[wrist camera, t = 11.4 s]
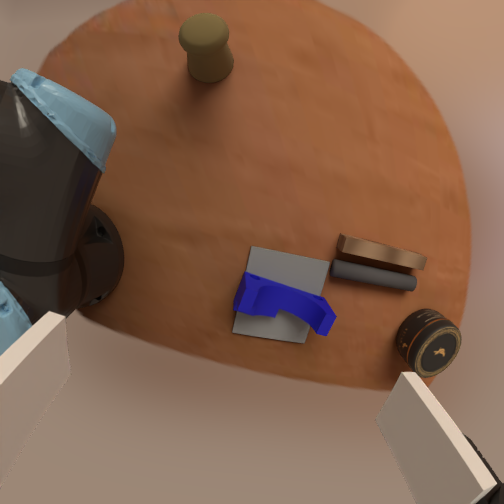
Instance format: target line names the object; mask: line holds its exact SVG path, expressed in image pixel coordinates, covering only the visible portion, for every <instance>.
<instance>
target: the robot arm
mask: <svg viewBox="0 0 504 504" xmlns="http://www.w3.org/2000/svg"><path fill="white" fill-rule="evenodd" d="M10 80H11V83H7V82H4V81H1V80H0V488H1V487H2V485H3V483H4V481H5V479H6V477H7V476H8V474H9V472H10V470H11V468H12V466H13V465H14V463H15V461H16V460H17V458H18V456H19V454H20V453H21V451H22V449H23V448H24V446H25V444H26V443H27V441H28V439H29V438H30V436H31V434H32V433H33V431H34V430H35V428H36V426H37V425H38V423H39V422H40V420H41V419H42V417H43V415H44V414H45V412H46V410H47V409H48V408H49V406H50V405H51V403H52V402H53V400H54V398H55V397H56V396H57V394H58V393H59V391H60V390H61V388H62V387H63V385H64V384H65V382H66V381H67V379H68V378H69V377H70V375H71V369H70V362H69V352H68V342H67V331H66V318H67V317H68V316H69V315H70V314H71V313H72V312H73V311H74V310H75V309H77V308H81V307H86V306H90V305H93V304H96V303H98V302H100V301H101V300H103V299H104V298H105V297H107V296H108V295H109V293H110V292H111V291H112V290H113V289H114V288H115V287H116V285H117V284H118V282H119V280H120V278H121V275H122V271H123V266H124V251H123V245H122V241H121V238H120V236H119V233H118V231H117V229H116V227H115V225H114V224H113V222H112V221H111V220H110V218H109V217H108V216H107V215H106V214H105V213H104V212H103V211H101V210H100V209H99V208H97V207H95V206H93V205H91V202H92V199H93V196H94V194H95V191H96V188H97V186H98V183H99V181H100V178H101V176H102V173H105V170H106V167H105V164H106V161H107V158H108V156H109V153H110V151H111V148H112V145H113V143H114V140H115V138H116V125H115V122H114V120H113V119H112V117H111V116H110V115H108V114H107V113H106V112H104V111H103V110H101V109H100V108H99V107H97V106H95V105H94V104H92V103H91V102H89V101H87V100H86V99H84V98H82V97H81V96H79V95H77V94H75V93H74V92H72V91H70V90H68V89H66V88H65V87H63V86H61V85H59V84H57V83H55V82H53V81H51V80H48V79H46V78H44V77H42V76H40V75H37V74H36V73H34V72H32V71H30V70H27V69H24V68H21V69H19V70H17V71H16V73H15V74H13V75H12V76H11V79H10ZM375 420H376V422H377V424H378V426H379V428H380V430H381V432H382V434H383V436H384V438H385V440H386V442H387V444H388V446H389V448H390V450H391V452H392V454H393V456H394V458H395V460H396V462H397V464H398V466H399V469H400V471H401V473H402V475H403V477H404V479H405V481H406V483H407V485H408V487H409V489H410V491H411V493H412V495H413V498H414V500H415V502H416V504H504V483H502V482H501V481H500V480H499V479H498V477H497V476H496V474H495V473H494V471H493V470H492V468H491V467H490V465H489V464H488V463H487V461H486V460H485V458H482V454H481V453H480V451H477V447H476V446H475V445H474V443H473V442H472V441H471V439H469V438H468V437H467V436H466V435H464V434H463V433H461V431H460V430H459V429H458V427H457V426H456V424H455V423H454V422H453V420H452V419H451V418H450V417H449V415H448V414H447V412H446V411H445V410H444V408H443V407H442V406H441V404H440V403H439V402H438V401H437V399H436V398H435V397H434V395H433V394H432V393H431V392H430V390H429V389H428V388H427V386H426V385H425V384H424V383H423V381H422V380H421V379H420V377H419V376H418V375H417V374H416V372H401V374H400V376H399V378H398V380H397V382H396V384H395V386H394V388H393V389H392V391H391V393H390V395H389V397H388V398H387V400H386V402H385V404H384V405H383V407H382V409H381V410H380V412H379V414H378V415H377V417H376V419H375Z"/></svg>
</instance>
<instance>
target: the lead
mask: <svg viewBox="0 0 504 504" xmlns="http://www.w3.org/2000/svg"><path fill="white" fill-rule="evenodd" d="M330 276H332V277H337V278H343V279H348V280H353V281H359V282H364V283H369V284H374V285H380V286H385V287H391V288H396V289H401V290H407V291H413V290H414V289H415V288H416V285H417V279H416V277H415V276H411V275H407V274H402V273H398V272H393V271H388V270H384V269H379V268H374V267H370V266H365V265H360V264H356V263H351V262H346V261H341V260H337V259H334V260H333V261H332V264H331V268H330Z"/></svg>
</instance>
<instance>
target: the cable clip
mask: <svg viewBox="0 0 504 504" xmlns="http://www.w3.org/2000/svg"><path fill="white" fill-rule="evenodd" d="M279 309H282V310H285V311H287V312H289V313H292V314H294V315H295V316H297V317H299V318H301V319H302V320H304V321H305V322H306V323H308V324H309V325H310V326H311V327H312V328H313V329H314V331H315V332H316V334H320V335H323V336H327V334H328V332H329V330H330V328H331V326H332V325H333V323H334V321H335V319H336V317H337V316H336V315H335V313H334V312H333V310H332V309H331V307H330V306H329V304H328V303H327V301H326V300H325V298H324V297H321V296H317V295H314V294H311V293H308V292H305V291H302V290H299V289H296V288H293V287H290V286H287V285H284V284H281V283H278V282H275V281H272V280H269V279H266V278H263V277H260V276H257V275H254V274H251V273H248V272H244V275H243V277H242V280H241V283H240V285H239V288H238V290H237V293H236V295H235V298H234V305H233V310H235V311H238V312H242V313H245V314H248V315H251V316H255V315H263V316H269V317H273V318H275V317H276V315H277V313H278V310H279Z"/></svg>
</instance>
